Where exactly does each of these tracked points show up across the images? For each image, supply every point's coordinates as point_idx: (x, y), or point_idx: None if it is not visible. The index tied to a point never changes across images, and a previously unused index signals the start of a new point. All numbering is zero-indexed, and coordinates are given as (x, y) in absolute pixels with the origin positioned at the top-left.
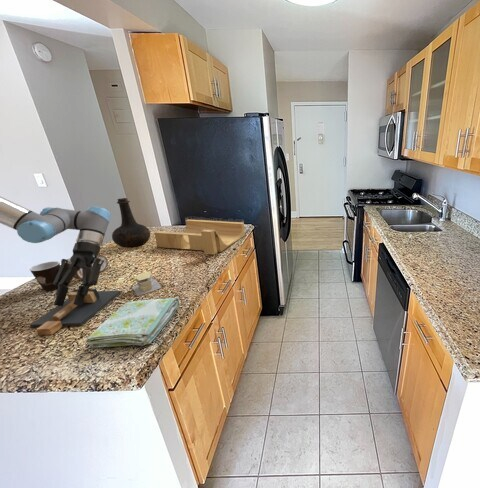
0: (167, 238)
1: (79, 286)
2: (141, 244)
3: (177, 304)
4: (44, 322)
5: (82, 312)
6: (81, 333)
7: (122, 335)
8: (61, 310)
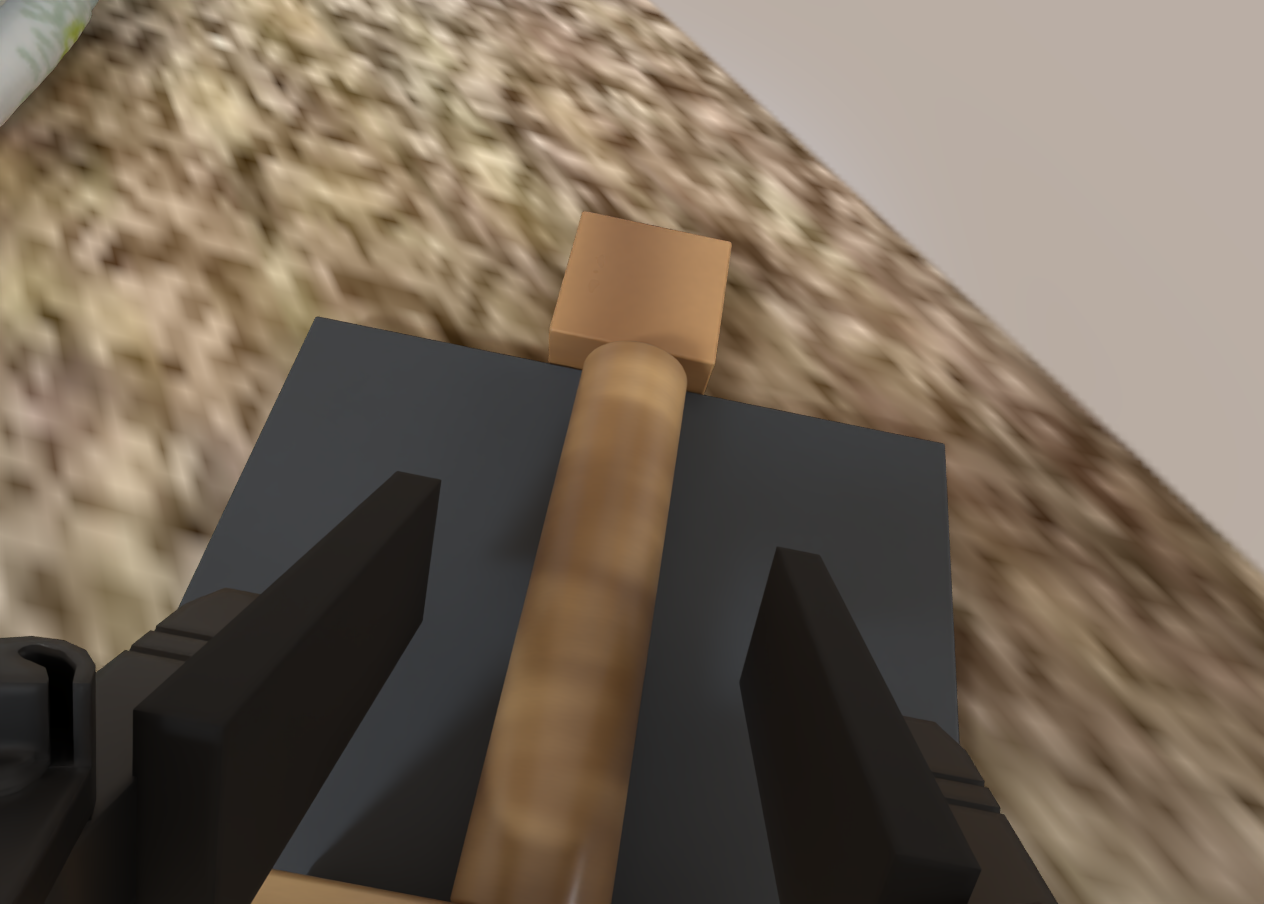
0: None
1: (229, 709)
2: None
3: None
4: (791, 441)
5: None
6: (271, 213)
7: None
8: (616, 450)
